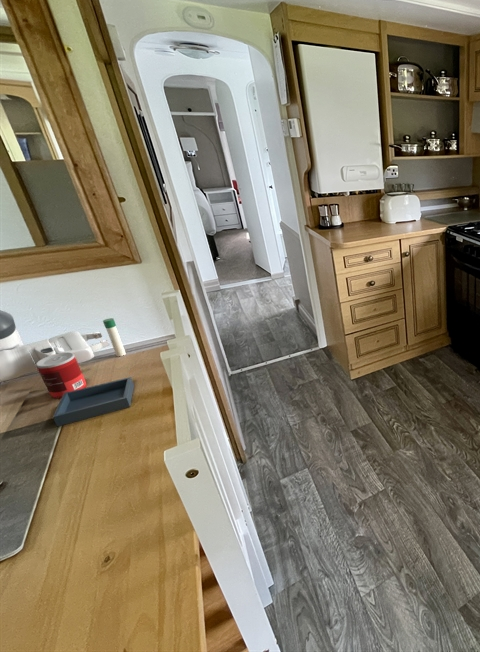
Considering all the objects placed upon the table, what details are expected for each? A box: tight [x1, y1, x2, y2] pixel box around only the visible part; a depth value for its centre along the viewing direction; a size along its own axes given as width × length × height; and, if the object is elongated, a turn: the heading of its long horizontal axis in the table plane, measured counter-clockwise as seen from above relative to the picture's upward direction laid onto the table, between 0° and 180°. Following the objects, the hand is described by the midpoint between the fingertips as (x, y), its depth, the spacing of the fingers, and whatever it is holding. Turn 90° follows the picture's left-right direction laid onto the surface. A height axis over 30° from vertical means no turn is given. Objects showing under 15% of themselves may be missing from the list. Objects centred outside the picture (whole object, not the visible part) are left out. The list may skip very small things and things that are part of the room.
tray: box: [52, 376, 135, 427], centre depth 106 cm, size 15×13×3 cm
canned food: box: [36, 353, 87, 399], centre depth 110 cm, size 8×8×11 cm
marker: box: [102, 318, 127, 358], centre depth 129 cm, size 3×3×14 cm
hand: (104, 338), depth 127 cm, fingers open, 8 cm apart
